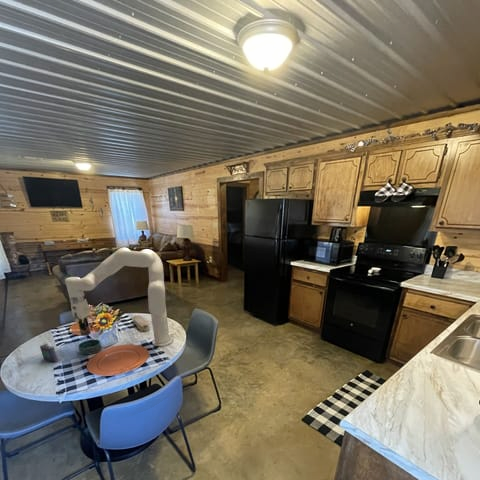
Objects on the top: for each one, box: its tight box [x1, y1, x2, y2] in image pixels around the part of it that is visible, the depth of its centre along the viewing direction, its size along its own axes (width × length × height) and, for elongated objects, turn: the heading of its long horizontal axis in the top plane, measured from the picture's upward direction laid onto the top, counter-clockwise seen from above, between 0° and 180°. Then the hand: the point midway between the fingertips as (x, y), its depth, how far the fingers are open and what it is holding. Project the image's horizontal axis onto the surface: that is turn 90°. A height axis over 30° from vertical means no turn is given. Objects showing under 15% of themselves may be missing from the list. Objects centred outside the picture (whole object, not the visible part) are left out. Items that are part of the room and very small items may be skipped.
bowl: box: [77, 339, 103, 356], centre depth 163 cm, size 12×12×4 cm
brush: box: [79, 319, 92, 337], centre depth 157 cm, size 6×6×10 cm
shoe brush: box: [131, 315, 150, 332], centre depth 197 cm, size 24×8×5 cm, turn 37°
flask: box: [39, 343, 58, 363], centre depth 151 cm, size 9×3×11 cm, turn 74°
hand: (84, 327), depth 157 cm, fingers closed on brush, 2 cm apart
